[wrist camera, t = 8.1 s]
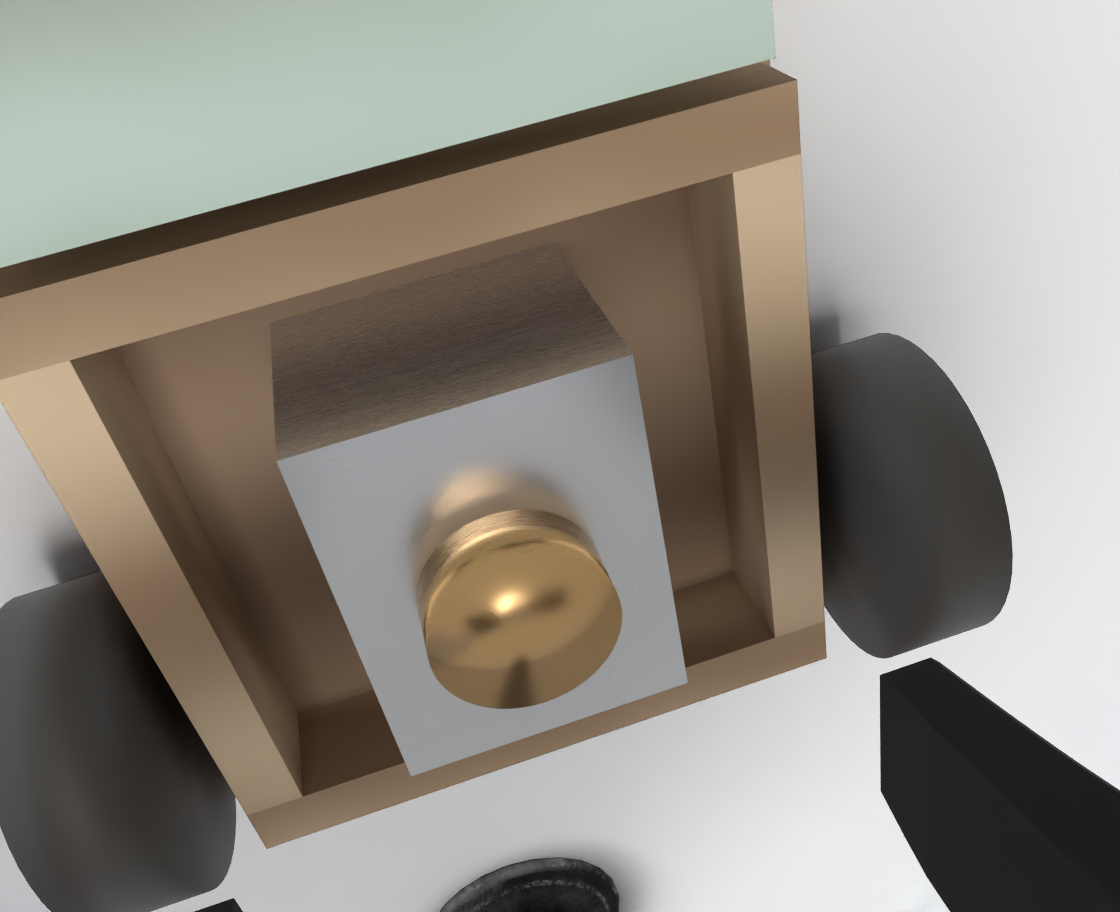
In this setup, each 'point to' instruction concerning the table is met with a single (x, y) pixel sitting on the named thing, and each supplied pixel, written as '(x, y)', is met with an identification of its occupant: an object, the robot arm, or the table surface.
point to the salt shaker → (539, 889)
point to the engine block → (480, 501)
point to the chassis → (376, 265)
